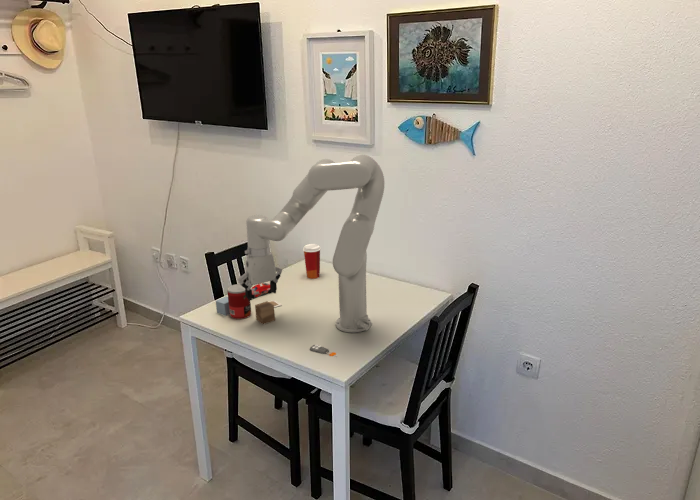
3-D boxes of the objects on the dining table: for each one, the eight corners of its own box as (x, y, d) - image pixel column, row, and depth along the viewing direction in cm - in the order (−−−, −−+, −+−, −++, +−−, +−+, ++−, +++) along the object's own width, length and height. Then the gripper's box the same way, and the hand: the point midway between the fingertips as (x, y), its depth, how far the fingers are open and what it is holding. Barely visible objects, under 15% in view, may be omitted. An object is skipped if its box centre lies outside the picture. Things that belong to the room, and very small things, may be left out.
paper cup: (315, 272, 241) (313, 242, 236) (325, 276, 235) (324, 246, 230) (300, 276, 236) (299, 246, 231) (311, 281, 230) (309, 250, 226)
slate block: (235, 311, 204) (234, 299, 203) (225, 316, 201) (224, 303, 199) (227, 308, 207) (225, 296, 206) (216, 312, 203) (215, 300, 202)
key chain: (308, 351, 175) (308, 347, 174) (315, 346, 178) (315, 342, 177) (341, 362, 168) (341, 358, 167) (348, 357, 171) (348, 352, 170)
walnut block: (275, 320, 196) (273, 305, 194) (263, 324, 193) (261, 309, 191) (268, 315, 200) (267, 301, 198) (256, 319, 197) (254, 304, 195)
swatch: (281, 305, 208) (281, 304, 208) (268, 309, 204) (268, 308, 204) (274, 300, 212) (274, 299, 212) (260, 304, 209) (260, 303, 209)
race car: (247, 301, 214) (246, 291, 212) (241, 296, 218) (240, 287, 216) (277, 292, 221) (276, 283, 219) (271, 288, 225) (270, 279, 223)
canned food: (249, 319, 197) (246, 291, 194) (227, 319, 197) (224, 292, 194) (253, 310, 205) (250, 283, 201) (232, 310, 205) (229, 283, 201)
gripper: (241, 258, 180) (244, 305, 185) (286, 248, 190) (287, 293, 195) (231, 252, 185) (234, 298, 191) (275, 243, 195) (277, 286, 201)
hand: (261, 295), depth 193 cm, fingers open, 9 cm apart
